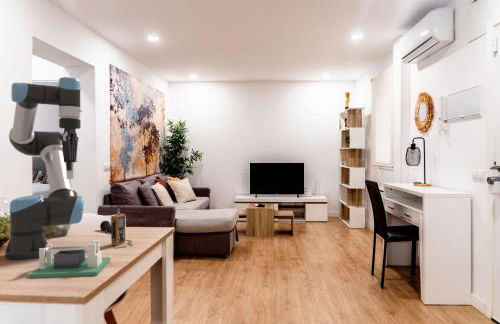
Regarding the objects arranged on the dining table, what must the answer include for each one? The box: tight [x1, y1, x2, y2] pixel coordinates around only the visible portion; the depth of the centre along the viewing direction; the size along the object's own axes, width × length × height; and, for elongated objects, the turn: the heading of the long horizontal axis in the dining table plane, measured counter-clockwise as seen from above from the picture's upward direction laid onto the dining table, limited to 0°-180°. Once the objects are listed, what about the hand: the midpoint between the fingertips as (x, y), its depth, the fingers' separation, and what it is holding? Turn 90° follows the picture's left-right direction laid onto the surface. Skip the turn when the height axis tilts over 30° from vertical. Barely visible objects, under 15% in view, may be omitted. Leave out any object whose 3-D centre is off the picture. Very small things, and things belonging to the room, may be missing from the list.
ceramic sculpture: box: [44, 224, 71, 238], centre depth 184 cm, size 11×9×15 cm
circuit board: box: [29, 239, 111, 279], centre depth 132 cm, size 21×18×9 cm
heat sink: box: [53, 249, 86, 269], centre depth 132 cm, size 8×8×5 cm
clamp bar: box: [45, 245, 88, 252], centre depth 132 cm, size 17×4×2 cm, turn 97°
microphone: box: [99, 220, 111, 233], centre depth 195 cm, size 5×5×19 cm
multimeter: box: [110, 198, 135, 249], centre depth 168 cm, size 15×10×20 cm
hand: (70, 179), depth 147 cm, fingers closed
